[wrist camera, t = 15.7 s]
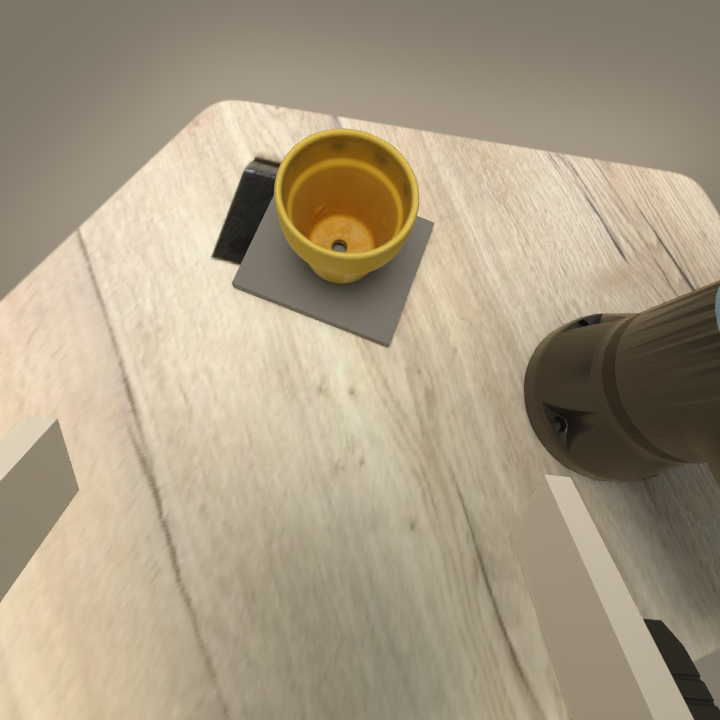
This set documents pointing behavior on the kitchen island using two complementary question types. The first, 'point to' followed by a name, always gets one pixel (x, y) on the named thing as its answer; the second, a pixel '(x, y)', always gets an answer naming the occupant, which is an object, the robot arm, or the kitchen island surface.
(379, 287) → the trivet mat
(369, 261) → the plant pot
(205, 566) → the kitchen island surface
